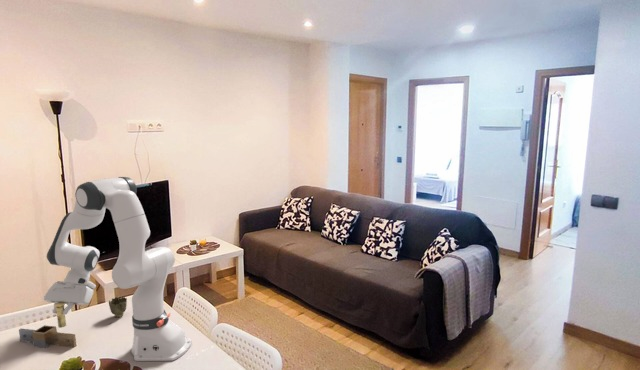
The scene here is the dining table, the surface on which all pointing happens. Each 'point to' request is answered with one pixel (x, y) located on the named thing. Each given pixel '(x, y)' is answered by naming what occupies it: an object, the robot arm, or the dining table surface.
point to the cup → (118, 306)
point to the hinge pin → (60, 314)
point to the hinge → (47, 337)
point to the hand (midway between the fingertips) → (59, 313)
